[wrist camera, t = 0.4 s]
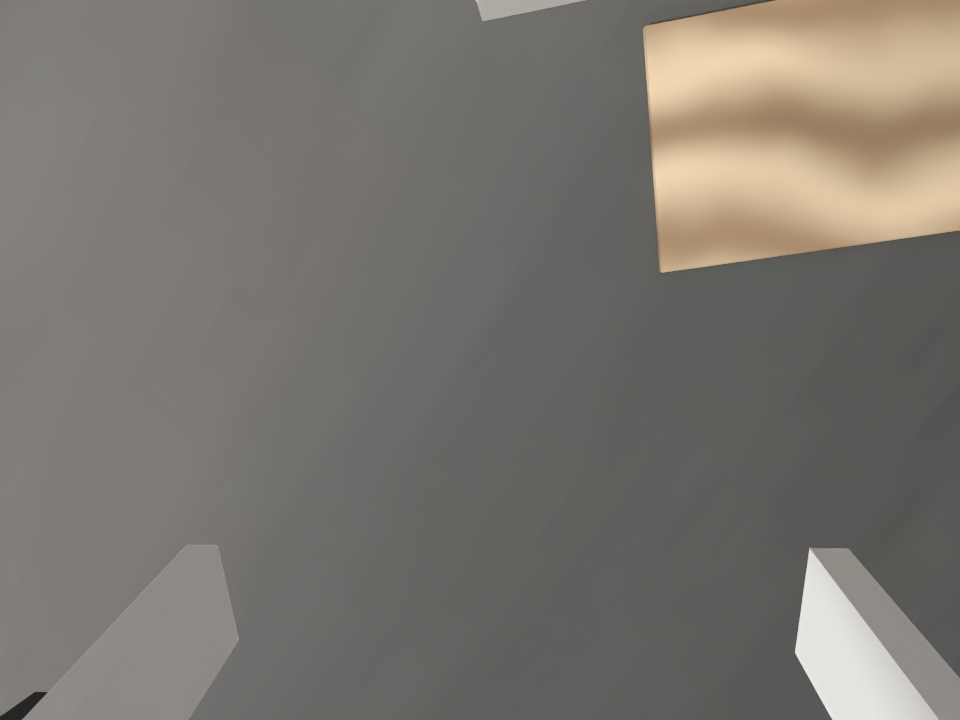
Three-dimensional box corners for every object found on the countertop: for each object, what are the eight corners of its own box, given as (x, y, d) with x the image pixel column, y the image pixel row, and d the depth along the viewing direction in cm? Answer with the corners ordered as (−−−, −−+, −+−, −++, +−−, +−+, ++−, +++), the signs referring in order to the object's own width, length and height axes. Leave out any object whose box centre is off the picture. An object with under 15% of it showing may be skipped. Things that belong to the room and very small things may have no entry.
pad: (642, 28, 33) (645, 25, 32) (1072, -56, 30) (1084, -61, 29) (659, 271, 37) (662, 272, 36) (1040, 216, 34) (1050, 217, 33)
